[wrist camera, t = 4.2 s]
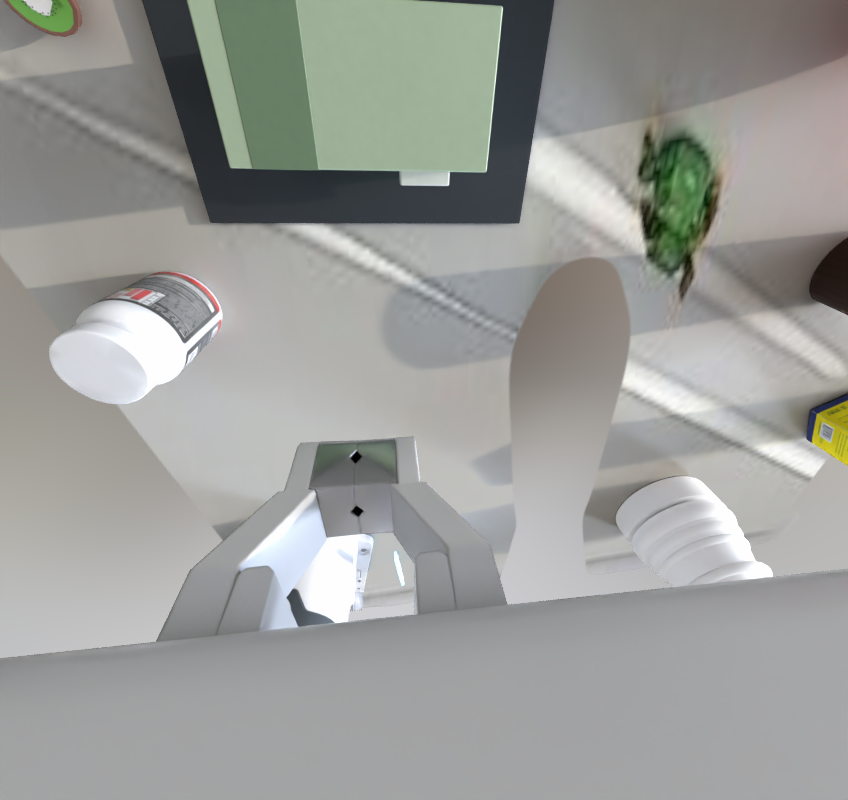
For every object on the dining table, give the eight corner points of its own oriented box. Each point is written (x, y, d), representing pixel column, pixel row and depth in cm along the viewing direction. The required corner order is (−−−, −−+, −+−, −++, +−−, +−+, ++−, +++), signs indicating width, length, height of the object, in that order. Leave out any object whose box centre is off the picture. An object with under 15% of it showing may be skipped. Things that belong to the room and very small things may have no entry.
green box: (455, 183, 24) (485, 191, 17) (277, 181, 22) (234, 188, 16) (463, 56, 20) (503, 4, 13) (250, 45, 19) (181, -18, 12)
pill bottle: (131, 266, 25) (9, 316, 17) (214, 271, 25) (136, 322, 17) (158, 339, 28) (67, 410, 20) (232, 341, 29) (173, 411, 21)
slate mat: (517, 222, 26) (519, 223, 25) (212, 221, 24) (210, 222, 23) (599, -309, 14) (604, -320, 14) (23, -400, 12) (13, -415, 12)
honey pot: (696, 519, 53) (818, 657, 38) (613, 541, 54) (701, 683, 39) (713, 465, 45) (872, 610, 31) (617, 491, 46) (726, 644, 32)
